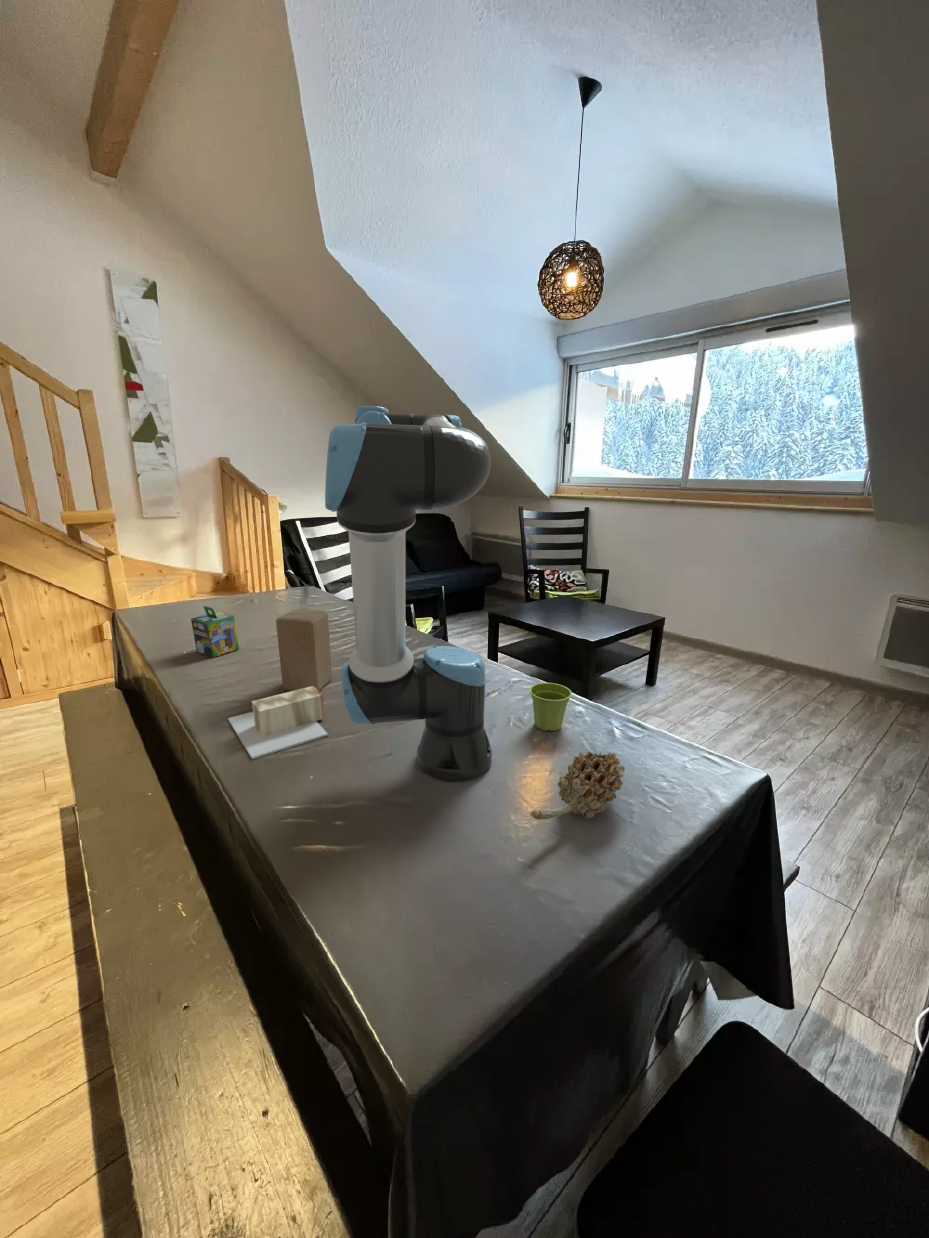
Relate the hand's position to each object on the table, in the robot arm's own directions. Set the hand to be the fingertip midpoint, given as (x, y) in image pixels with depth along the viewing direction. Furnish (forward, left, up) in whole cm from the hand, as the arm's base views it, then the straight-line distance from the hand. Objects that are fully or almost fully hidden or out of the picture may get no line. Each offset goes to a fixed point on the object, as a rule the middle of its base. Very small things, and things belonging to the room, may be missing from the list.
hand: (378, 577), depth 125 cm
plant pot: (-39, -22, -31) cm, 54 cm away
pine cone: (-64, -3, -31) cm, 71 cm away
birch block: (-4, +19, -27) cm, 33 cm away
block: (+14, +15, -31) cm, 37 cm away
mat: (-4, +29, -30) cm, 42 cm away
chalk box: (+55, +29, -31) cm, 69 cm away
